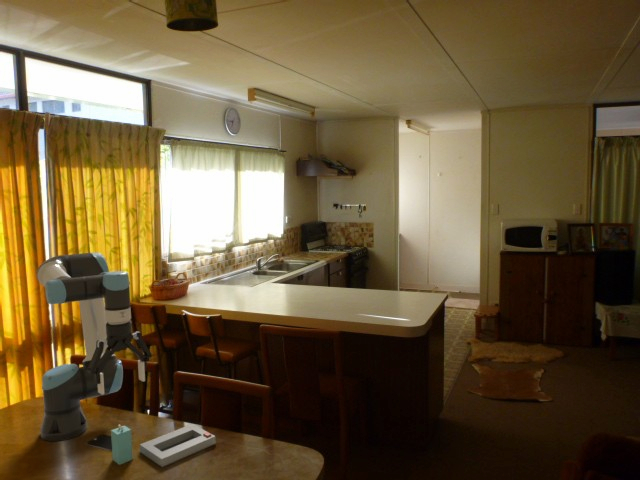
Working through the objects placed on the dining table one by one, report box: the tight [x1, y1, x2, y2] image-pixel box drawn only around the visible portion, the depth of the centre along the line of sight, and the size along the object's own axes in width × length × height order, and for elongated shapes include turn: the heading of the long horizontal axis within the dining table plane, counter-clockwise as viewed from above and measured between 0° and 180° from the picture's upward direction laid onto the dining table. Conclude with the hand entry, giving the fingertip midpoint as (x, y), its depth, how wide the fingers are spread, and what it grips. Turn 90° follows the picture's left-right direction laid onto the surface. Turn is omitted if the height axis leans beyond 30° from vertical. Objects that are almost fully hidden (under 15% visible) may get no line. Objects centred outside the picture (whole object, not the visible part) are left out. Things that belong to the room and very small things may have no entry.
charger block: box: [110, 424, 134, 466], centre depth 169 cm, size 4×4×11 cm
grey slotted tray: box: [139, 423, 217, 468], centre depth 176 cm, size 14×20×3 cm
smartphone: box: [85, 434, 133, 452], centre depth 181 cm, size 8×1×15 cm
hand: (122, 386), depth 167 cm, fingers open, 13 cm apart
